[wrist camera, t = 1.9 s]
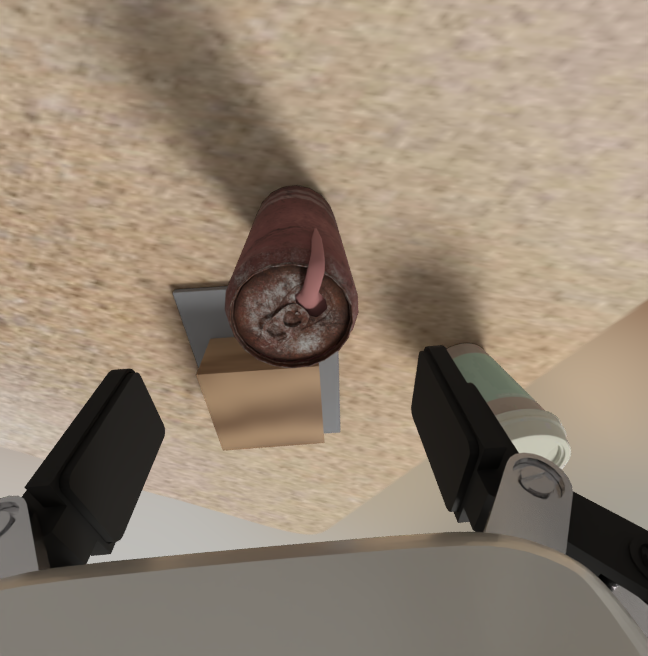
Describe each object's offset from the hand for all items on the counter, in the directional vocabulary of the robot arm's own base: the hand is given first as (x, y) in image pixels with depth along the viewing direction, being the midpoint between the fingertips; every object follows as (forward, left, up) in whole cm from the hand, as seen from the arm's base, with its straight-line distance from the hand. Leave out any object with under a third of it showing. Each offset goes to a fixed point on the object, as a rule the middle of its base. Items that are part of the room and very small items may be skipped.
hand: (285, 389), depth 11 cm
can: (0, 0, -18) cm, 18 cm away
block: (+15, -4, -17) cm, 23 cm away
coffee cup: (+16, +16, -18) cm, 29 cm away
